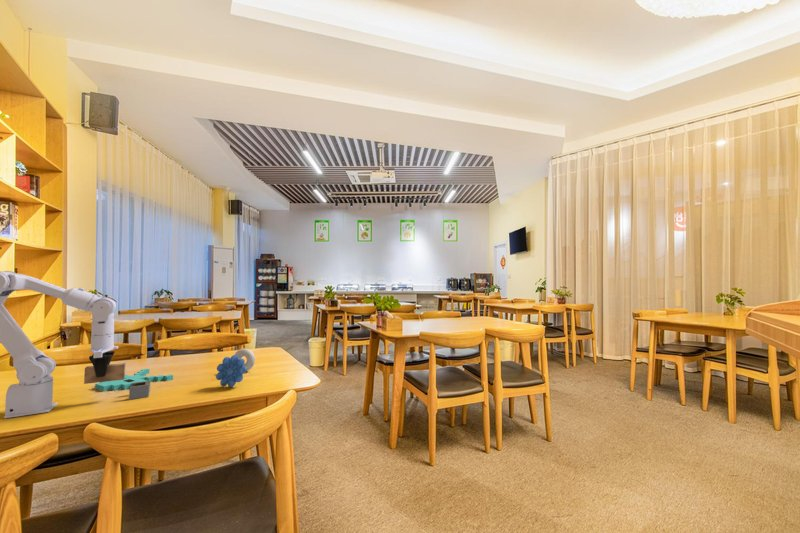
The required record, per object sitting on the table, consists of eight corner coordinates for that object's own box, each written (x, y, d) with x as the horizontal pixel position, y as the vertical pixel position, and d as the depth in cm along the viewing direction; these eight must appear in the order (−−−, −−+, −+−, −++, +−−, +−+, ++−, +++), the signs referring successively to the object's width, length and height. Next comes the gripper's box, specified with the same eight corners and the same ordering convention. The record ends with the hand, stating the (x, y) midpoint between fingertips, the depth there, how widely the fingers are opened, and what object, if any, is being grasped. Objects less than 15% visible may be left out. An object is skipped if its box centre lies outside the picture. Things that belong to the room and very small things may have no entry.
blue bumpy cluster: (251, 383, 132) (252, 352, 132) (242, 389, 125) (243, 356, 125) (222, 382, 132) (223, 352, 133) (212, 388, 125) (212, 356, 126)
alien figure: (146, 373, 146) (86, 386, 128) (146, 368, 146) (86, 380, 128) (173, 380, 136) (112, 395, 119) (173, 375, 136) (112, 389, 119)
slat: (84, 383, 109) (84, 368, 109) (85, 381, 111) (86, 366, 111) (123, 379, 114) (124, 364, 115) (124, 377, 116) (125, 363, 117)
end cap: (129, 399, 114) (129, 387, 114) (131, 394, 119) (132, 382, 119) (148, 396, 116) (148, 385, 117) (150, 391, 122) (150, 380, 122)
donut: (256, 370, 149) (257, 348, 150) (251, 373, 146) (252, 349, 146) (236, 369, 151) (236, 347, 151) (231, 371, 148) (231, 348, 148)
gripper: (114, 336, 109) (113, 379, 108) (121, 330, 121) (120, 368, 121) (85, 338, 105) (83, 382, 105) (95, 332, 117) (94, 371, 117)
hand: (101, 375), depth 112 cm, fingers closed on slat, 2 cm apart
